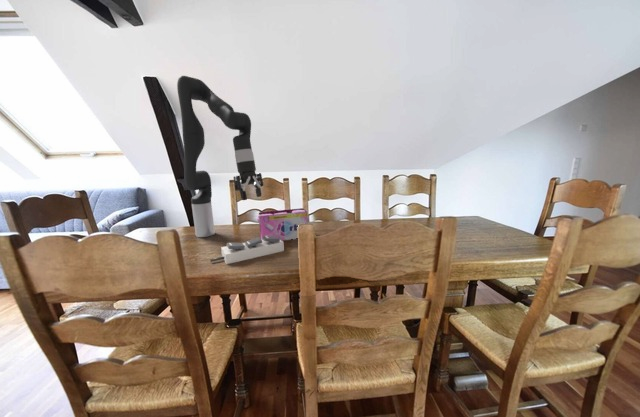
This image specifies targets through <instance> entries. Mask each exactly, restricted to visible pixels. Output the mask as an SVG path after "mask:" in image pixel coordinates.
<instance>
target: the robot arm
mask: <svg viewBox="0 0 640 417" xmlns="http://www.w3.org/2000/svg"><path fill="white" fill-rule="evenodd" d="M176 84H177V85H176V86H177V87H176V89H177V95H178V96H177V97H178V102H179V107H180V108H179V109H180V117H181V130H182V142H183V154H184V158H183V159H184V166H183V174H184V175H183V178H184V184H185V187H186V189H187V190H189V191H198V192H197V193H196V194H195V195H193V196H192V197H191V199H190V202H191V210H192V217H193V224H194V233H195V236H196V237H197V238H207V237H211V236H214V235H215V234H216V231H215V222H214V214H213V206H212V196H213V194H212V193H213V192H212V180H211V176H210V174H209V172H207V170H206V171H205V170H197V164H198V162H197V161H198V159H199V158H200V156H201V153H202V151H203V150H204V147H205V129H204V127H203V125H202V123H201V121H200V120H199V118H198V117H197V115H196V113H195V111H194V109H193V108H194V107H193V102H192V100H194V101H201V102H203V103H205V104H207V107H208V109H209V110H210V112H211V113H212V114H214V115H215V116H216V117H217V118H219V119H220V120H221V122H222V123H223V124H224V125H225V127H226V128H228V129H230V130H233V131H234V130H235V131H239V132H238V135H235V136H233V137H232V138H233V139H232V142H233V149H234V158H235V162H236V163H235V164H236V167H237V169H236V170H237V172H238V175H235V176H233V183H234V191H237V192H239V195H240V199H241V200H242V201H246V200H248V196H247V192H246V188H247V187H248V186H249V185H251V186H253V187H254V188H255V194H256V198H259V197H262V190H261V188H262V187H264V180H263V176H262V173H261V172H257V173H256V171H257V169H256V168H257V166H256V162H255V156H254V152H253V149H252V144H251V143H252V142H251V132H252V131H251V130H252V122H251V121H252V120H251V118H250V117H249V116H250V115H248V114H247V113H245V112H239V111H235V110H234V108H233V107H232V105H231V104H229V103H228V102H226V100H223V99H222V98H221V97H219V96H218V95H217V94H216V93H214V92H213V90H212V89H211V88H209V86H208V85H207V84H206V83H205V82H204V81H203V80H201V79H199V78H195V77H193V76H192V77H191V76H187V75H180V76H179V77H178V79H177V83H176Z"/></svg>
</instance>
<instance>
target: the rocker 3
mask: <svg viewBox="0 0 640 417" xmlns="http://www.w3.org/2000/svg"><path fill="white" fill-rule="evenodd" d="M263 239H264V240H265V241H266V242H280V239H279V238H278V237H277V236H263Z"/></svg>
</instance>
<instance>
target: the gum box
mask: <svg viewBox="0 0 640 417" xmlns="http://www.w3.org/2000/svg"><path fill="white" fill-rule="evenodd" d="M308 215H309V214H308V210H307V209H305V208H304V207H303V208H293V209H280V210H269V211H267V210H266V211H260V212H258V215H257V222H258V224H259V232H260V239H263V236H277V237H278V238H279V239H280V240H281V241H283V242H284V241H291V239H293V240H297V239H296V238H297V227H298V225H299V224H300V223H305V224H308V225H309V222H308V221H309V219H308V218H309V216H308Z"/></svg>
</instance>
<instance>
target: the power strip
mask: <svg viewBox="0 0 640 417" xmlns="http://www.w3.org/2000/svg"><path fill="white" fill-rule="evenodd" d="M260 239H261V238H260ZM261 240H262V243H260V244H257V245H255V246H252V247H250V248H248V247H247V246H246V245H245V242H242V243H243V245H244V246H245V248H244V249H228V247H227V246H221V247H220V249H221V250H220V252H221V257H216V258H211V259H209V260H210V263H212V262H217V261H221V260H222V261H224V262H225V264H226V265H230V264H233V263H238V262H241V261H246V260H247V261H248V260H251V259H255V258H260V257H263V256H269V255H273V254H277V253H282V252H284V251H285V245H284V244H285V243H284V241H281V240H280V242H266V241H265V240H264V239H261Z"/></svg>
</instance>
